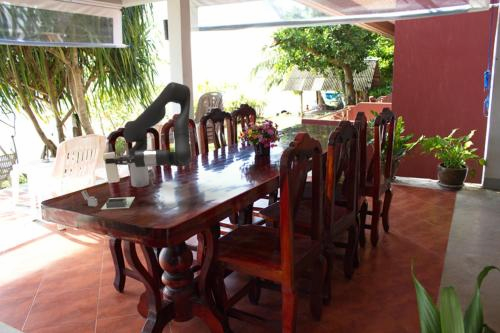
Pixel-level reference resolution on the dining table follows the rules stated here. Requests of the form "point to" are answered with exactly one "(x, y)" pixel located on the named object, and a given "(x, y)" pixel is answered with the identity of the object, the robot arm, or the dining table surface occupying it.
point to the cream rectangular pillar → (111, 167)
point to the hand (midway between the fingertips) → (106, 160)
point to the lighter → (89, 199)
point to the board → (118, 203)
